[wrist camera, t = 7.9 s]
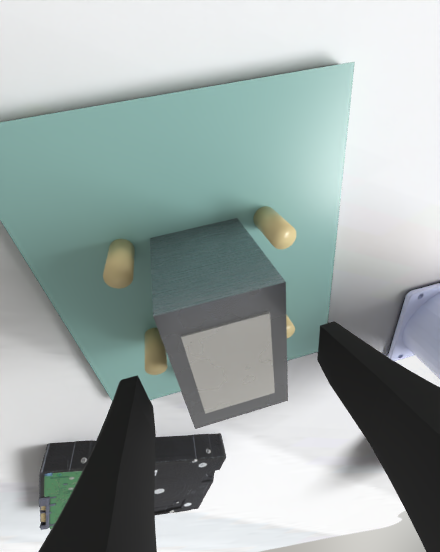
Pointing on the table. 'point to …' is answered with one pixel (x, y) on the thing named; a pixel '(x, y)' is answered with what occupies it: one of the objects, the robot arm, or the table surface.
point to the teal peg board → (176, 203)
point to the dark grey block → (220, 320)
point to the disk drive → (168, 473)
